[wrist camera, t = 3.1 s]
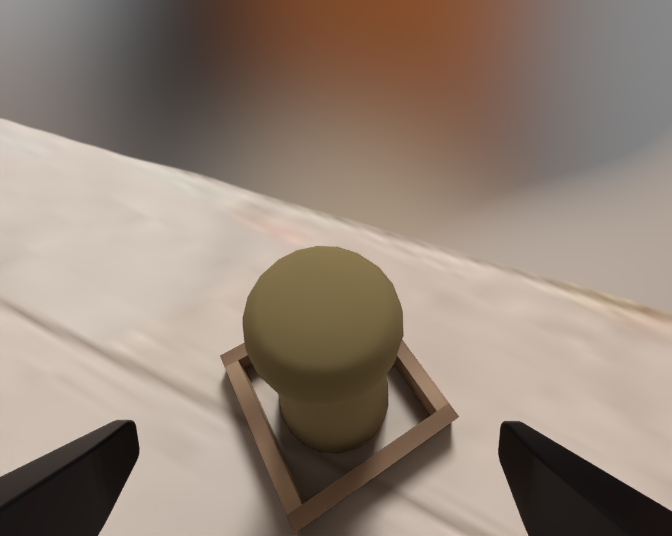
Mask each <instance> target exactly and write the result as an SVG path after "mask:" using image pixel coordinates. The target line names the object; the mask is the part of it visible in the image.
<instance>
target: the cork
mask: <svg viewBox="0 0 672 536" xmlns="http://www.w3.org/2000/svg"><path fill="white" fill-rule="evenodd" d="M243 332H244V342H245V350H246V352H247V354H248V356H249V358H250V360H251V362H252V364H253V366H254V368H255V370H256V372H257V373H258V374H259V376H260V377H261V378H262V379H263V380H264V381H265V382H266V383H267V384H269V385H270V386H271V387H272V388H273V389H274V390H275V391H276V392H277V393H278V394H279V400H280V406H281V413H282V416H283V418H284V420H285V422H286V424H287V426H288V428H289V430H290V432H291V433H292V434H293V435H294V436H295V437H296V438H298V439H299V440H300V441H301V442H302V443H303V444H304V445H306V446H309V447H311V448H313V449H315V450H317V451H319V452H329V453H341V452H345V451H349V450H352V449H356V448H358V447H359V446H360V445H362V444H363V443H365V442H366V441H368V440H369V439H370V438H372V437H373V435H374V434H375V432H376V431H377V430H378V428H379V427H380V425H381V424H382V423H383V420H384V417H385V414H386V410H387V407H388V382H387V375H386V374H387V373H388V371H389V370H390V369H391V367H392V366H393V365H394V362H395V360H396V357H397V354H398V350H399V347H400V344H401V341H402V338H403V311H402V307H401V304H400V301H399V299H398V296H397V294H396V291H395V288H394V286H393V284H392V282H391V281H390V280H389V279H388V278H387V276H386V275H385V274H384V273H383V272H382V270H381V269H380V268H379V267H378V266H376V265H375V264H373V263H372V262H370V261H369V260H367V259H366V258H364V257H363V256H361V255H359V254H358V253H355V252H352V251H349V250H346V249H342V248H339V247H326V246H316V247H311V248H306V249H301V250H297V251H295V252H293V253H291V254H289V255H287V256H285V257H283V258H281V259H279V260H278V261H277V262H275V263H274V264H273V265H272V266H271V267H270V268H269V269H268V270H267V271H265V272H264V273H263V274H262V275H261V276H260V278H259V279H258V281H257V282H256V284H255V286H254V287H253V289H252V291H251V292H250V294H249V296H248V298H247V302H246V307H245V311H244V315H243Z"/></svg>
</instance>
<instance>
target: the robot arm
mask: <svg viewBox="0 0 672 536" xmlns="http://www.w3.org/2000/svg"><path fill="white" fill-rule="evenodd" d="M498 455H499V460H500V463H501V466H502V468H503V471H504V474H505V476H506V479H507V482H508V484H509V487H510V490H511V492H512V495H513V498H514V500H515V503H516V506H517V508H518V511H519V514H520V516H521V519H522V521H523V524H524V526H525V529H526V531H527V533H528V536H672V511H671V510H669V509H667V508H666V507H664V506H662V505H661V504H659V503H657V502H655V501H654V500H652V499H650V498H649V497H647V496H645V495H644V494H642V493H640V492H639V491H637V490H635V489H634V488H632V487H630V486H629V485H627V484H625V483H623V482H622V481H620V480H618V479H617V478H615V477H613V476H612V475H610V474H608V473H607V472H605V471H603V470H602V469H600V468H598V467H597V466H595V465H593V464H591V463H590V462H588V461H586V460H585V459H583V458H581V457H580V456H578V455H576V454H575V453H573V452H571V451H570V450H568V449H566V448H565V447H563V446H561V445H559V444H558V443H556V442H554V441H553V440H551V439H549V438H548V437H546V436H544V435H543V434H541V433H539V432H538V431H536V430H534V429H533V428H531V427H529V426H528V425H526V424H524V423H522V422H520V421H504V422H503V423H502V424H501V427H500V437H499V448H498ZM138 456H139V442H138V435H137V429H136V424H135V422H134V421H132V420H115V421H113V422H111V423H109V424H107V425H105V426H103V427H101V428H99V429H97V430H95V431H93V432H91V433H89V434H87V435H85V436H83V437H80V438H78V439H76V440H74V441H72V442H70V443H68V444H66V445H64V446H62V447H60V448H58V449H56V450H54V451H52V452H50V453H48V454H46V455H44V456H42V457H40V458H38V459H36V460H34V461H32V462H30V463H28V464H26V465H24V466H22V467H20V468H18V469H16V470H14V471H12V472H9V473H7V474H5V475H3V476H1V477H0V536H98V535H99V533H100V531H101V530H102V528H103V526H104V524H105V523H106V521H107V519H108V517H109V515H110V513H111V511H112V509H113V507H114V505H115V503H116V501H117V499H118V497H119V495H120V493H121V491H122V489H123V487H124V485H125V483H126V481H127V479H128V477H129V475H130V473H131V471H132V469H133V467H134V465H135V463H136V461H137V459H138Z"/></svg>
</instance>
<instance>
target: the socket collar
mask: <svg viewBox="0 0 672 536" xmlns="http://www.w3.org/2000/svg"><path fill="white" fill-rule="evenodd" d="M220 357H221V359H222V362H223V364H224V367H225V369H226V371H227V374H228V376H229V379H230V381H231V383H232V386H233V388H234V391H235V393H236V395H237V398H238V400H239V403H240V405H241V407H242V410H243V412H244V415H245V417H246V419H247V422H248V424H249V427H250V429H251V431H252V434H253V436H254V439H255V441H256V443H257V446H258V448H259V451H260V453H261V455H262V458H263V460H264V463H265V465H266V467H267V470H268V472H269V475H270V477H271V479H272V482H273V484H274V487H275V489H276V491H277V494H278V496H279V499H280V501H281V503H282V506H283V508H284V511H285V513H286V515H287V518H288V520H289V523H290V525H291V527H292V530H293V532H294V534H295V533H297V532H298V531H299V530H301V529H302V528H304V527H305V526H306V525H308V524H309V523H311V522H312V521H313V520H315V519H316V518H318V517H319V516H320V515H322V514H323V513H325V512H326V511H328V510H329V509H330V508H332V507H333V506H335V505H336V504H337V503H339V502H340V501H342V500H343V499H344V498H346V497H347V496H349V495H350V494H351V493H353V492H354V491H356V490H357V489H358V488H360V487H361V486H363V485H364V484H365V483H367V482H368V481H370V480H371V479H372V478H374V477H375V476H377V475H378V474H380V473H381V472H382V471H384V470H385V469H387V468H388V467H389V466H391V465H392V464H394V463H395V462H396V461H398V460H399V459H401V458H402V457H403V456H405V455H406V454H408V453H409V452H410V451H412V450H413V449H415V448H416V447H417V446H419V445H420V444H422V443H423V442H424V441H426V440H427V439H429V438H430V437H432V436H433V435H434V434H436V433H437V432H439V431H440V430H441V429H443V428H444V427H446V426H447V425H448V424H450V423H451V422H453V421H454V420H455V419H457V418H458V417H459V416H458V415H457V413H456V412H455V410H454V409H453V408H452V406H451V405H450V404H449V402H448V401H447V400H446V398H445V397H444V396H443V394H442V393H441V392H440V390H439V389H438V387H437V386H436V385H435V383H434V382H433V381H432V379H431V378H430V377H429V375H428V374H427V373H426V371H425V370H424V368H423V367H422V366H421V364H420V363H419V362H418V360H417V359H416V358H415V356H414V355H413V354H412V352H411V351H410V350H409V348H408V347H407V345H406V344H405V343H404V341H403V340H402V341H401V344H400V347H399V350H398V354H397V357H396V360H395V362H394V364H395V366H396V367H397V369H398V370H399V372H400V373H401V374H402V376H403V377H404V379H405V380H406V382H407V383H408V385H409V386H410V387H411V389H412V390H413V392H414V393H415V395H416V396H417V397H418V399H419V400H420V402H421V403H422V405H423V406H424V408H425V409H426V410H427V412H428V413H429V415H430V416H429V417H428V418H426V419H425V420H423V421H422V422H421V423H419V424H418V425H416V426H415V427H413V428H412V429H410V430H409V431H408V432H406V433H405V434H403V435H402V436H400V437H399V438H397V439H396V440H395V441H393V442H392V443H390V444H389V445H387V446H386V447H384V448H383V449H382V450H380V451H379V452H377V453H376V454H374V455H373V456H371V457H370V458H369V459H367V460H366V461H364V462H363V463H361V464H360V465H358V466H357V467H356V468H354V469H353V470H351V471H350V472H348V473H347V474H345V475H344V476H342V477H341V478H340V479H338V480H337V481H335V482H334V483H332V484H331V485H329V486H328V487H327V488H325V489H324V490H322V491H321V492H319V493H318V494H316V495H315V496H314V497H312V498H311V499H309V500H308V501H306V502H304V500H303V497H302V495H301V493H300V491H299V489H298V486H297V484H296V482H295V480H294V477H293V475H292V473H291V471H290V468H289V466H288V464H287V462H286V460H285V457H284V455H283V453H282V451H281V448H280V446H279V444H278V442H277V439H276V437H275V435H274V433H273V430H272V428H271V426H270V424H269V422H268V419H267V417H266V415H265V413H264V410H263V408H262V406H261V404H260V401H259V399H258V397H257V395H256V393H255V390H254V388H253V386H252V384H251V381H250V379H249V377H248V375H247V372H246V370H245V368H247V367H249V366H251V365H253V364H252V362H251V360H250V358H249V356H248V354H247V352H246V350H245V343H243V344H241V345H239V346H237V347H235V348H234V349H232V350H230V351H228V352H226V353H224V354H222V355H220Z"/></svg>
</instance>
